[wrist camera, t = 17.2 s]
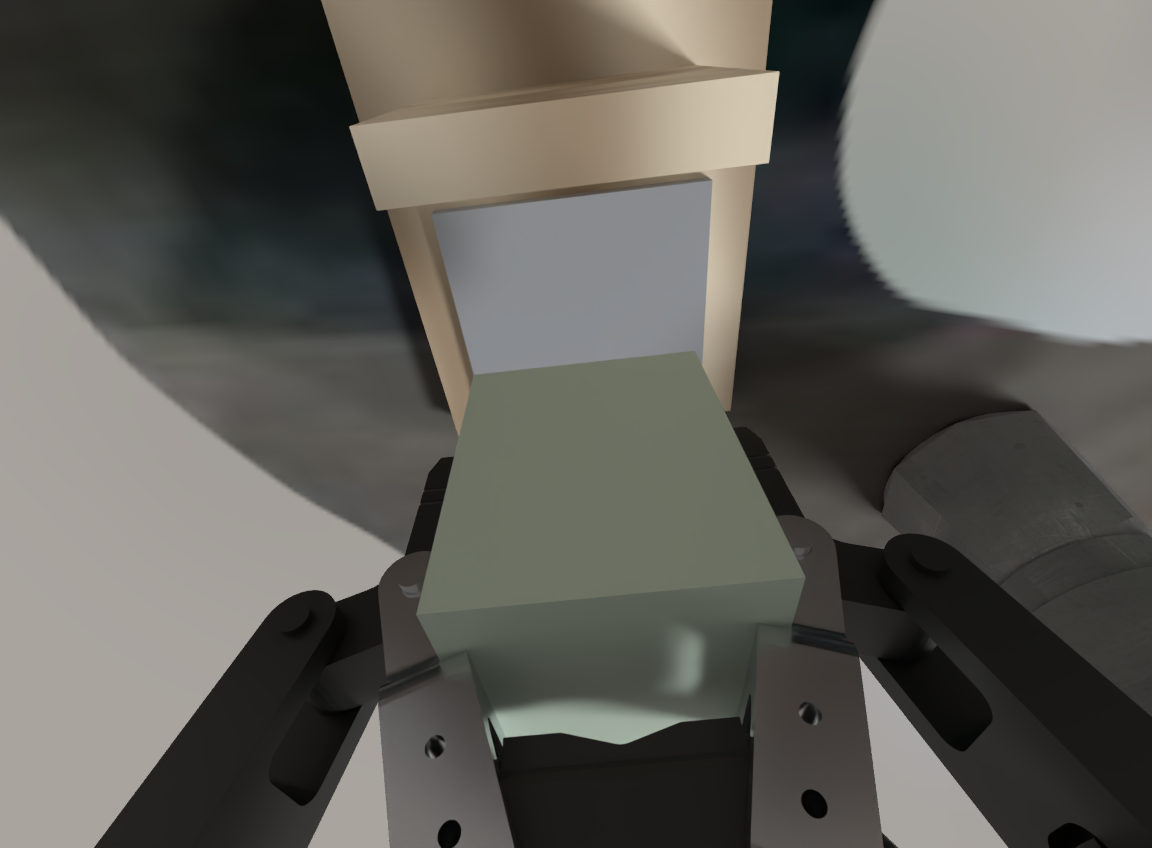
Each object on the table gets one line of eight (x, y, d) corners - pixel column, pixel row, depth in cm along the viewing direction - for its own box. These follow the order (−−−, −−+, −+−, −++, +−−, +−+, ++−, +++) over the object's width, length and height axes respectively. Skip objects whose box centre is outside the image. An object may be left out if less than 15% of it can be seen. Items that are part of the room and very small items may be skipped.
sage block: (694, 350, 11) (806, 577, 6) (686, 506, 14) (758, 740, 9) (473, 374, 11) (416, 615, 6) (512, 524, 14) (493, 763, 9)
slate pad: (708, 177, 16) (712, 180, 16) (697, 405, 21) (699, 411, 21) (433, 210, 16) (431, 214, 16) (490, 427, 22) (489, 434, 21)
